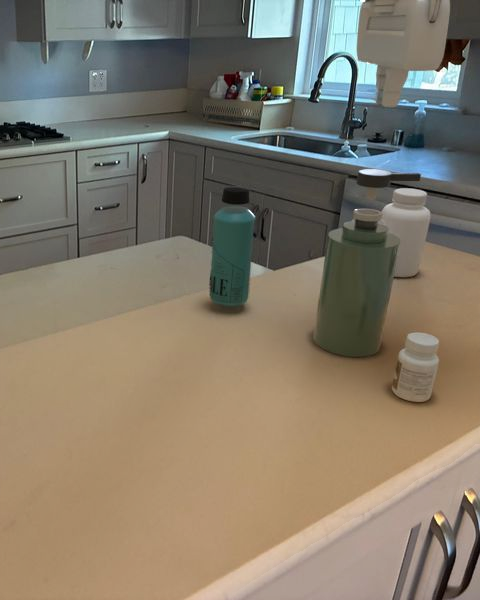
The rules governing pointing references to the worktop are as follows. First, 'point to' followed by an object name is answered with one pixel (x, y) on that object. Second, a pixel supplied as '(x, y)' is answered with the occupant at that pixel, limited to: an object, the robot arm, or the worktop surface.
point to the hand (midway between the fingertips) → (386, 105)
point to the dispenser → (356, 286)
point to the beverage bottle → (232, 249)
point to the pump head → (381, 180)
